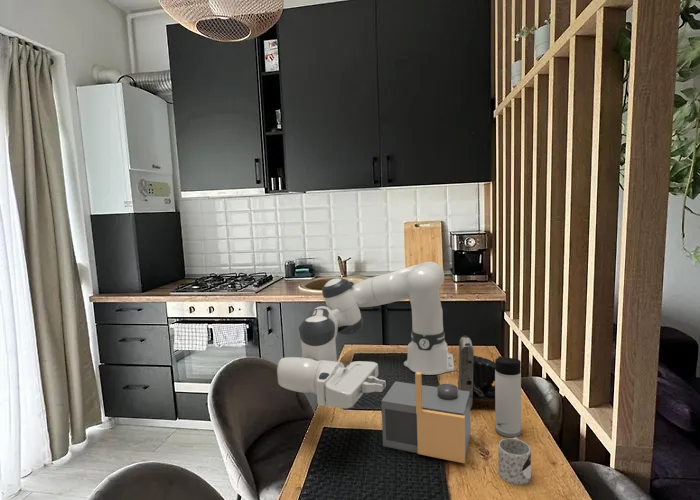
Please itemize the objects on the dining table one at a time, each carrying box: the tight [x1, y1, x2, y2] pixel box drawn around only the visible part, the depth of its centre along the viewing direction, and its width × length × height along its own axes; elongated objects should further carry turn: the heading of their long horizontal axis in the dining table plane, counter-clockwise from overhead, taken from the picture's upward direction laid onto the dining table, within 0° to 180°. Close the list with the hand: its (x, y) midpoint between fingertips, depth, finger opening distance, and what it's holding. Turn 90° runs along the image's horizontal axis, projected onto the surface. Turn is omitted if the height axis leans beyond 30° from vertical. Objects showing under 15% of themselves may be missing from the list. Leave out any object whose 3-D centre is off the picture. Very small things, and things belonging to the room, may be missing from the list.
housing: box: [380, 381, 471, 458], centre depth 104 cm, size 12×20×14 cm, turn 67°
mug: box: [497, 436, 532, 486], centre depth 92 cm, size 10×7×7 cm, turn 155°
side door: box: [414, 372, 466, 464], centre depth 95 cm, size 2×11×20 cm, turn 67°
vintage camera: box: [457, 335, 504, 409], centre depth 122 cm, size 10×16×20 cm, turn 79°
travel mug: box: [494, 357, 522, 438], centre depth 106 cm, size 6×7×20 cm
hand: (384, 386), depth 99 cm, fingers closed
